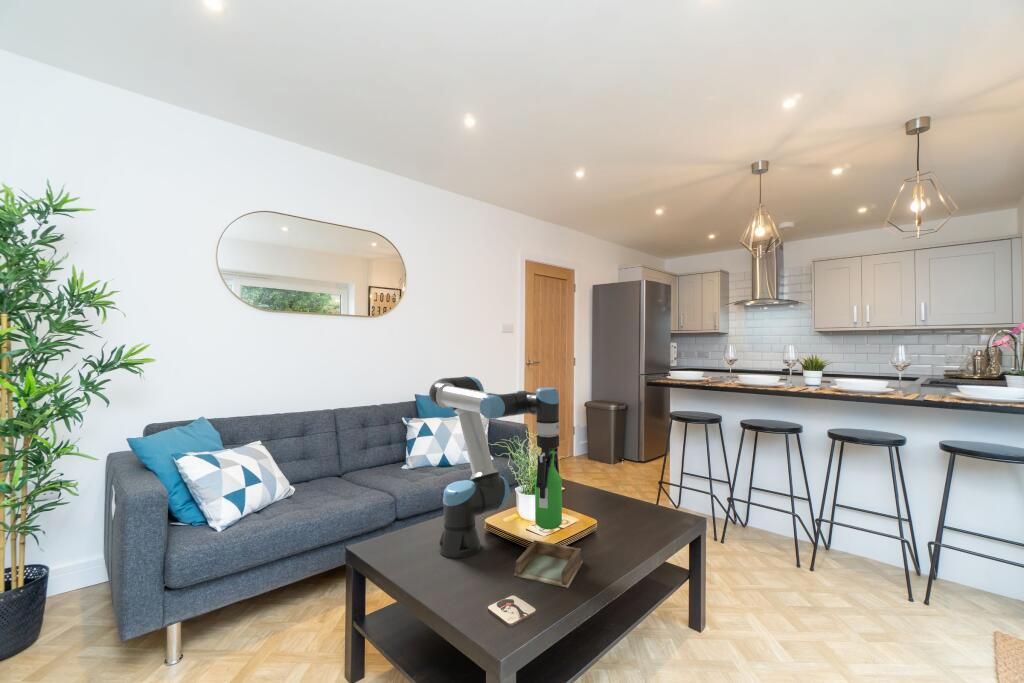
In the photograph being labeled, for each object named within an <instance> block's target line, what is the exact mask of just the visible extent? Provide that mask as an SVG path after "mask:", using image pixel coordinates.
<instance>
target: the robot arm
mask: <svg viewBox="0 0 1024 683" xmlns="http://www.w3.org/2000/svg"><path fill="white" fill-rule="evenodd" d="M535 391H536V392H531V391H526V390H516V391H515V392H512V393H502V394H499V393H498V394H497V393H493V392H488V391H485V389H484V387H483V384H482V383H481V381H480V380H479V379H478V378H477V377H475V376H459V377H457V376H455V377H444V378H439V379H437V380H436V381H434V382H433V384H431V386H430V388H429V392H428V395H429V399H430V401H431V403H432V404H433V405H434V406H436V407H439V408H443V409H448V408H452V410H453V413H454V414H456V415H458V418H459V422H460V427H461V431H462V435H463V440H464V442H465V443H464V444H465V448H466V452H467V457H468V460H469V465H470V470H471V476H470V478H469V480H468V479H467V480H466V479H464V480H457V481H454V482H451V483H450V484H448V485H446V487H444V490H443V498H442V503H443V530H442V532H441V535H440V539H439V543H438V552H439V553H440V554H441V555H442V556H444V557H447V558H452V559H460V558H461V559H463V558H467V557H470V556H474V555H475V554H477V553H478V552H479V551H481V539H480V537H479V536H480V535H479V533H478V532H479V531H478V530H477V529H478V528H477V527H476V526H477V525H476V519H477V518H476V517H478V516H479V515H480V516H481V515H483V514H487V513H490V512H493V511H497V510H498V509H501V508H503V507H505V506H506V505H507V503H508V500H509V498H510V492H511V491H510V485H509V482H508V481H507V480H506V478H505V477H504V476H501V475H500V472H499V470H498V469H496V468H494V465H493V460H492V456H491V452H490V447H489V444H488V440H487V436H486V432H485V428H484V425H483V420H482V416H483V417H484V418H485V419H487V420H489V419H490V420H491V419H493V420H495V419H499V418H506V417H512V416H513V417H514V416H521V415H525V414H526V415H527V414H528V415H533V416H535V417H536V420H535V421H536V422H535V423H536V425H535V426H536V428H535V430H536V432H535V434H537V435H536V446H537V447H538V448H540V449H541V450H540V451H541V452H540V454H539V455H537V466H536V468H537V470H536V475H537V482H536V487H538V488H539V507H540V508H546V509H547V508H548V488H547V479H548V472H549V467H551V461H552V458H553V456H552V455H553V454H549V452H550V450H552V449H553V450H554V453H555V455H554V467H555V469H556V470H557V472H558V473H559V474H560V471H559V470H560V469H559V468H560V465H559V457H558V454H559V452H558V451H559V448H558V447H560V436H559V434H560V429H561V425H560V397H559V396H560V395H559V389H558V388H556V387H538V388H537V389H536V390H535ZM481 415H482V416H481ZM549 455H550V456H549Z"/></svg>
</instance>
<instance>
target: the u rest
mask: <svg viewBox="0 0 1024 683" xmlns="http://www.w3.org/2000/svg"><path fill="white" fill-rule="evenodd" d="M583 562H584V561H583V560H582V549H581V548H578V547H573V546H567V545H562V544H557V543H552V542H546V541H541V540H536V539H534V540H533V541H532V542H531V544H529V546H528V547H527V548H526V549H525V550H524V551H523V553H522V554H520V556H519V557H518V558H517V559H516V561H515V573H514V574H513V576H515V577H519V578H523V579H528V580H532V581H537V582H540V583H545V584H550V585H554V586H558V587H562V588H567V589H568V588H569V587H570V585H571V584H572V582H573V580H574V578H575V576H576V575H577V573H578V571H579V570H580V568H581V566H582V564H583Z"/></svg>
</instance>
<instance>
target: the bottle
mask: <svg viewBox="0 0 1024 683" xmlns="http://www.w3.org/2000/svg"><path fill="white" fill-rule="evenodd" d="M549 454H553V455H552V456H553V458H552V461H551V467H549V472H548V479H547V488H548V508H547V509H546V508H540V507H539V488H538V487H536V482H537V474H536V476H535V477H534V497H535V498H534V505H535V506H534V509H535V510H534V512H535V513H534V516H535V518H534V520H535V521H534V522H535V525H537V526H538V527H539V528H540V529H543V530H556V529H558V528H559V527H560V526H562V524H563V494H562V493H563V492H562V490H563V488H562V487H563V485H562V484H563V482H562V477H561V475H560V472H559V473H558V472H557V470H556V469H555V467H554V455H555V453H554V450H553V449H552V450H550V452H549ZM549 456H550V455H549Z"/></svg>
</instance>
